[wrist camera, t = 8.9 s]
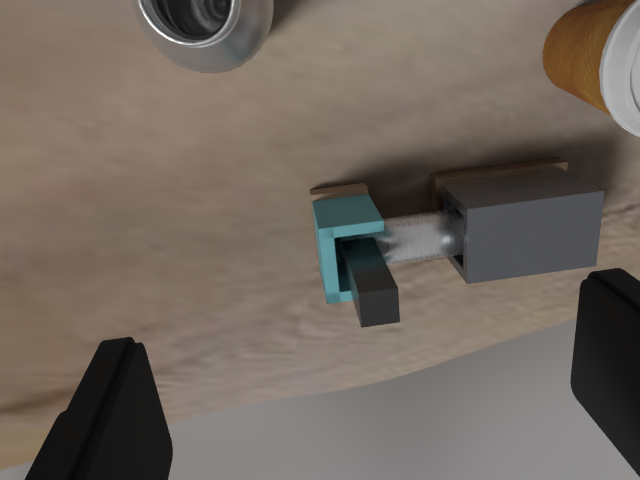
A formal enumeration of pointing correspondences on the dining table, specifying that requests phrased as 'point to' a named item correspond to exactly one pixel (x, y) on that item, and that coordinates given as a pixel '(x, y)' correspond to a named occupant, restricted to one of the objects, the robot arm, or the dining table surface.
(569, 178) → the tube sleeve
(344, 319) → the dining table surface
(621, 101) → the disposable coffee cup
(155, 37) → the plastic bottle
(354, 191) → the far socket
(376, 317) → the tube
